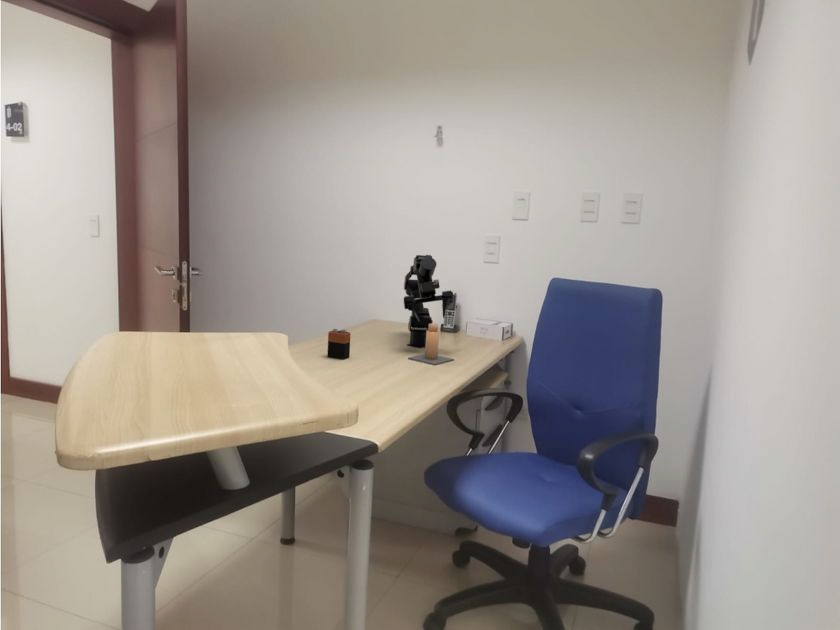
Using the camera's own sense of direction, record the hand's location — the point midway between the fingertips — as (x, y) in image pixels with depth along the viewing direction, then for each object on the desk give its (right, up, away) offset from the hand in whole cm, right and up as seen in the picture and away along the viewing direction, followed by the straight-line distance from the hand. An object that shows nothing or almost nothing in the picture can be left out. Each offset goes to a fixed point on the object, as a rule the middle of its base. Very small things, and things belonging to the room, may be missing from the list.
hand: (431, 319), depth 214 cm
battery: (-33, -13, -12) cm, 38 cm away
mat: (0, -14, -6) cm, 16 cm away
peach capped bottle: (0, -14, -7) cm, 15 cm away
